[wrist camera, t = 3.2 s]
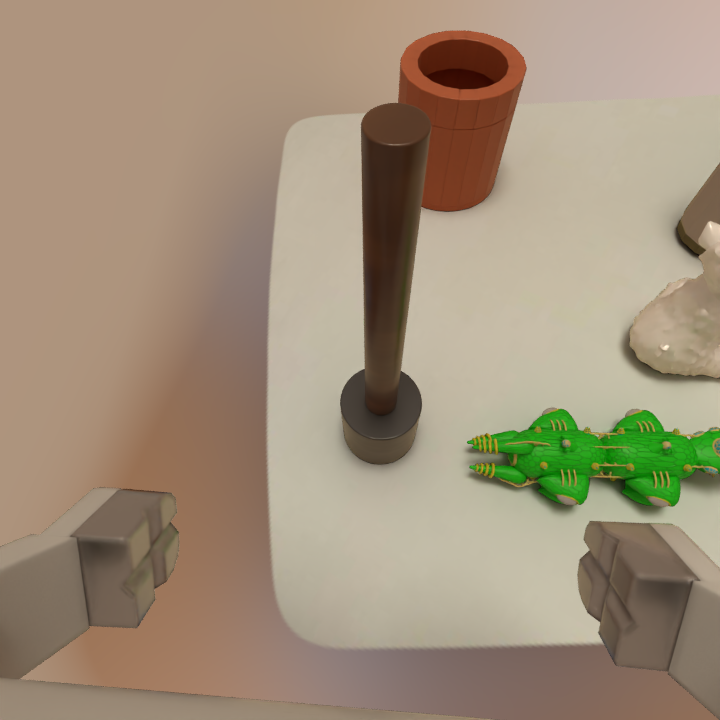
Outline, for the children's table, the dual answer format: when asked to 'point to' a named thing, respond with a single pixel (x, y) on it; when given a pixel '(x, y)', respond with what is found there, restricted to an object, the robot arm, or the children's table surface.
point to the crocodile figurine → (601, 457)
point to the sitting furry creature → (684, 319)
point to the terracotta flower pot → (462, 110)
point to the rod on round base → (387, 282)
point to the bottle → (701, 212)
